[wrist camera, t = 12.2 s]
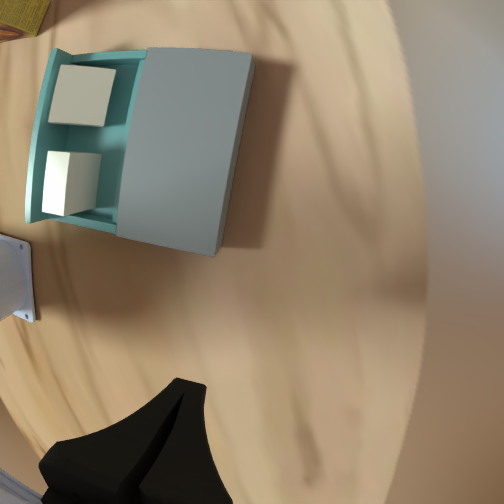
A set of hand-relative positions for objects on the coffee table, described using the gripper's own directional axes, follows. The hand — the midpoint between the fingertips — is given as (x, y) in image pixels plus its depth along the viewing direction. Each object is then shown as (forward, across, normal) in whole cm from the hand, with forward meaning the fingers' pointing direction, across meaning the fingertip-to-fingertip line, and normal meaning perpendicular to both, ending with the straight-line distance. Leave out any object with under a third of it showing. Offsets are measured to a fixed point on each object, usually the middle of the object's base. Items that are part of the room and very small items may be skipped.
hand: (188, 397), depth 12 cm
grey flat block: (+10, +4, -10) cm, 15 cm away
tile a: (+8, +11, -7) cm, 15 cm away
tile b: (+7, +12, -13) cm, 19 cm away
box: (+10, +12, -10) cm, 19 cm away
